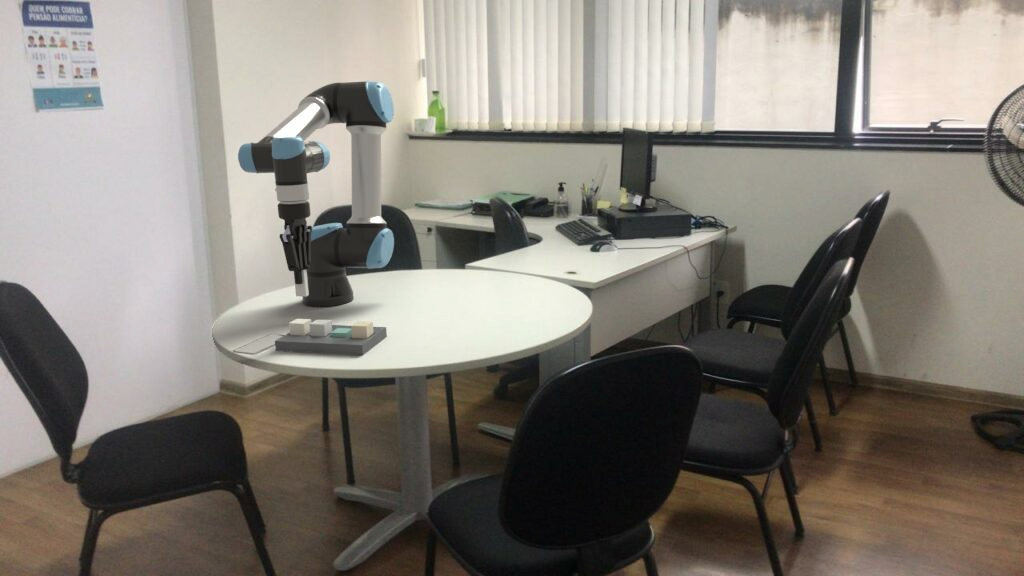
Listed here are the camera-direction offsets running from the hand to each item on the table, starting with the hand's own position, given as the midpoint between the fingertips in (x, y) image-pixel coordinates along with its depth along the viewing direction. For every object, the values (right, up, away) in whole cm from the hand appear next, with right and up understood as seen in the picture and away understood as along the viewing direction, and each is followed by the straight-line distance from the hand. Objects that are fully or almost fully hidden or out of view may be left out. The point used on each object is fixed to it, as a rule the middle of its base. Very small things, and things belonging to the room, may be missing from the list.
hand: (302, 295), depth 198 cm
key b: (+4, -10, +1) cm, 11 cm away
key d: (+15, -10, -1) cm, 18 cm away
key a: (-1, -9, +2) cm, 10 cm away
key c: (+10, -12, 0) cm, 15 cm away
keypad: (+7, -12, +1) cm, 14 cm away
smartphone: (-10, -13, +2) cm, 17 cm away
